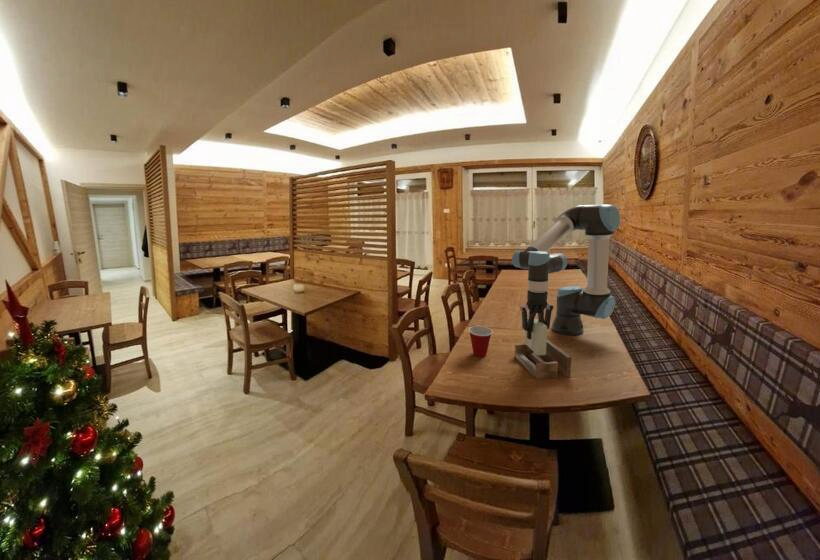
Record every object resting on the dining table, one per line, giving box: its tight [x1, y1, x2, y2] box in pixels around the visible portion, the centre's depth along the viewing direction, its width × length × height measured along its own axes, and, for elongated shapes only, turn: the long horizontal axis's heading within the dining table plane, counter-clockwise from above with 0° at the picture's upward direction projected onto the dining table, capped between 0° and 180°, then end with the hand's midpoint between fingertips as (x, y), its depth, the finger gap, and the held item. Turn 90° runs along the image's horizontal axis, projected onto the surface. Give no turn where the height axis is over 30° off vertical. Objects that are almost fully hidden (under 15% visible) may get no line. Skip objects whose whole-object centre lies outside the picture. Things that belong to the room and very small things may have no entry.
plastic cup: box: [468, 325, 494, 358], centre depth 157 cm, size 11×11×12 cm
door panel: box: [524, 316, 548, 356], centre depth 141 cm, size 3×12×12 cm, turn 7°
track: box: [514, 339, 572, 380], centre depth 144 cm, size 13×22×8 cm, turn 7°
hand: (535, 345), depth 142 cm, fingers closed on door panel, 3 cm apart
